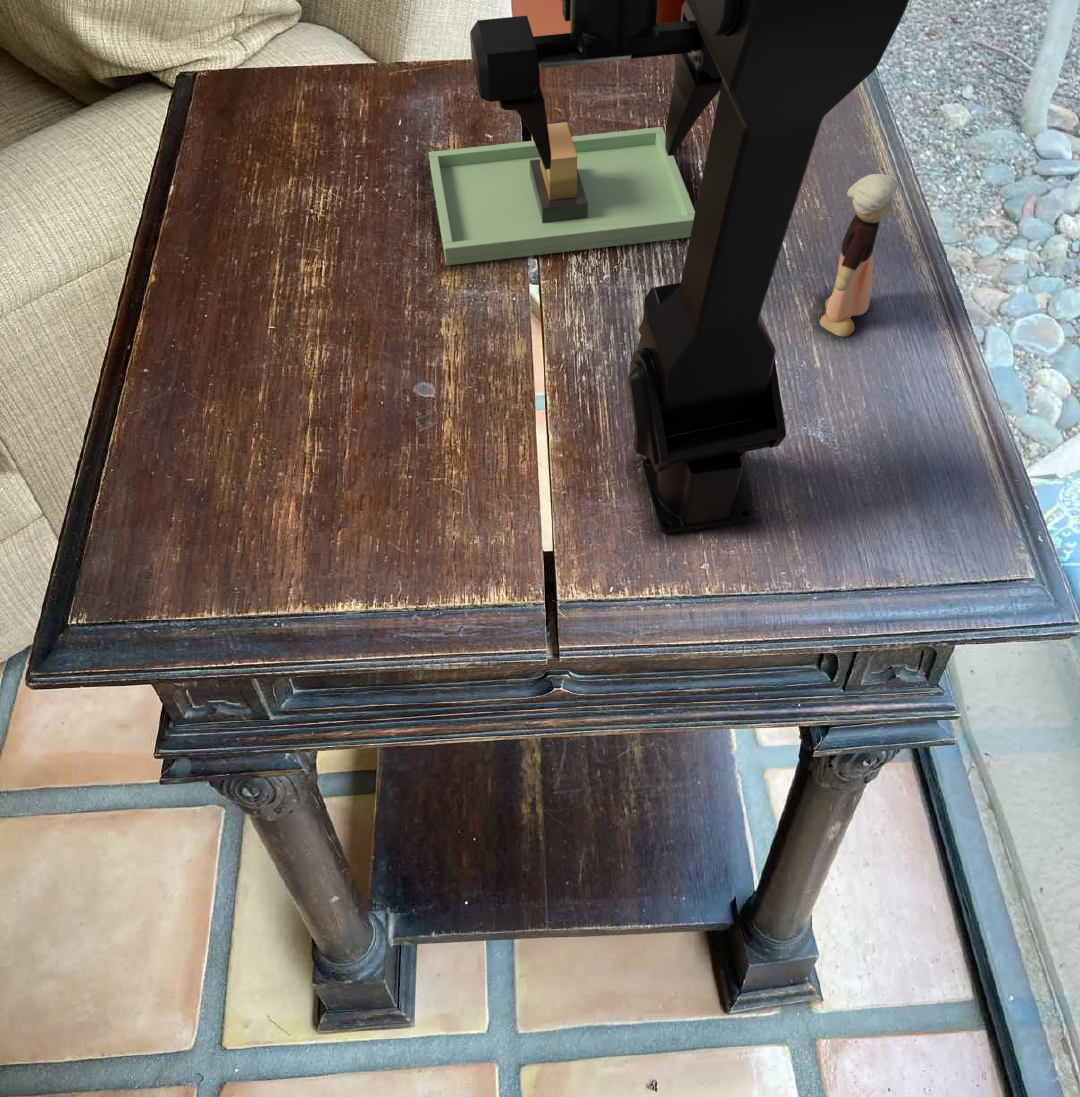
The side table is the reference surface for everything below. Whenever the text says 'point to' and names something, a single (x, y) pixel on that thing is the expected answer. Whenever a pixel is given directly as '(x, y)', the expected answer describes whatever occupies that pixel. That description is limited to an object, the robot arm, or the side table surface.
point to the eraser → (559, 179)
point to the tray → (512, 211)
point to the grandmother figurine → (858, 253)
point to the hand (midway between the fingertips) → (608, 159)
